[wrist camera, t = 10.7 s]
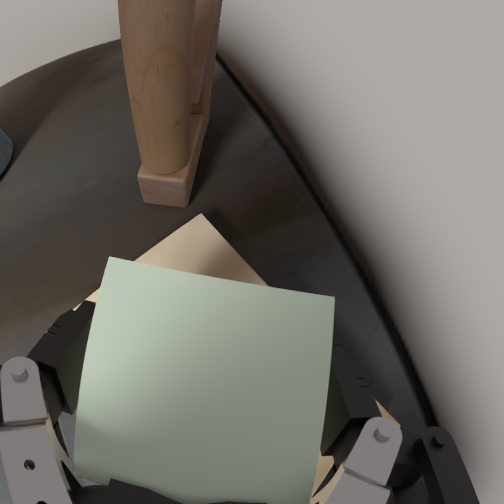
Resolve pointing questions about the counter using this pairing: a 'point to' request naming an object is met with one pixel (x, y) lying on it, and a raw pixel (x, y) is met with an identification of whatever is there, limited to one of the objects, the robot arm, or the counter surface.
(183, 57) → the wooden block
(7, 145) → the moka pot
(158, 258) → the wooden board with holes
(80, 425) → the block
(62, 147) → the counter surface
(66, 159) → the counter surface
